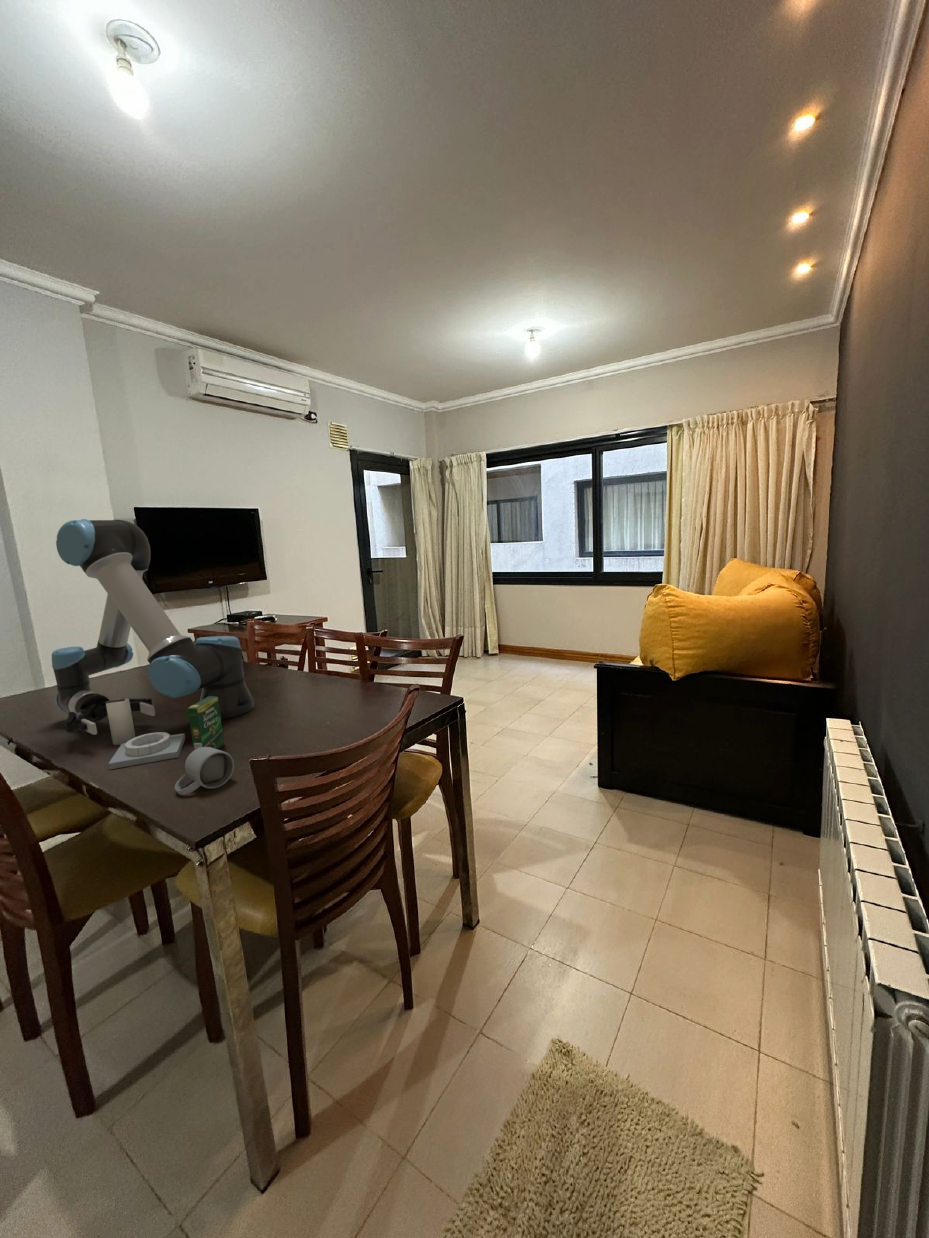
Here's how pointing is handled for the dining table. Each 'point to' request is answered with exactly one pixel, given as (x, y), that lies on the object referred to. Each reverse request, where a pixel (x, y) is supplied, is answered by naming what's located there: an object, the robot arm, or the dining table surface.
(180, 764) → the dining table surface
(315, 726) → the dining table surface
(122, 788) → the dining table surface
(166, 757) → the hub
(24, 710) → the dining table surface
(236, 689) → the robot arm
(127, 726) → the grey cylindrical peg
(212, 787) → the ceramic mug
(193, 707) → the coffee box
